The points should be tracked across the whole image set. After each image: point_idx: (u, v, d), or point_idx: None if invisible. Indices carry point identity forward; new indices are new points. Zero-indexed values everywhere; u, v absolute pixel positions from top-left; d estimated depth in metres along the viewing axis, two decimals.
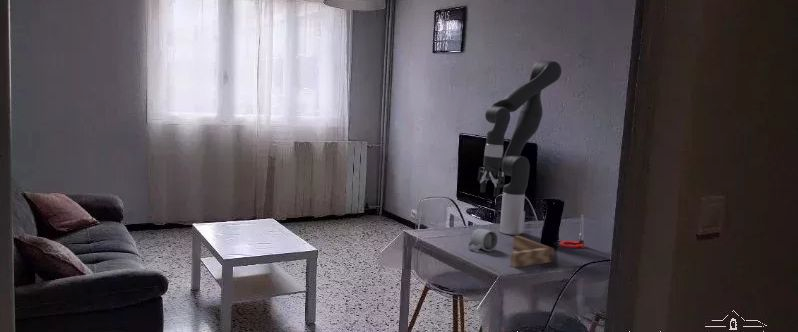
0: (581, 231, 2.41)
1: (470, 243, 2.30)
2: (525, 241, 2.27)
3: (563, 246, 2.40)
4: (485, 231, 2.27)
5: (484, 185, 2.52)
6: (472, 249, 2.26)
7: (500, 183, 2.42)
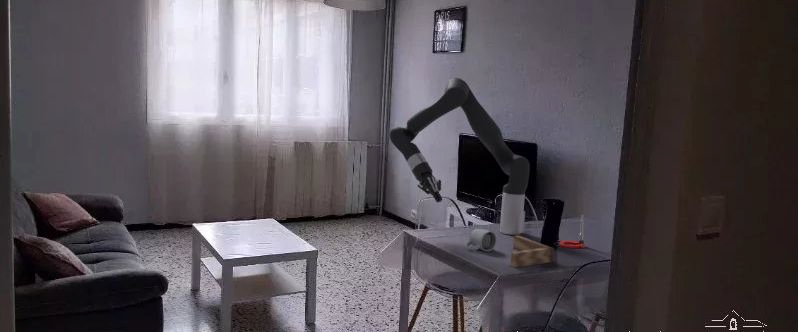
0: (581, 231, 2.41)
1: (469, 243, 2.30)
2: (525, 241, 2.27)
3: (563, 246, 2.40)
4: (484, 231, 2.27)
5: None
6: (470, 249, 2.26)
7: None
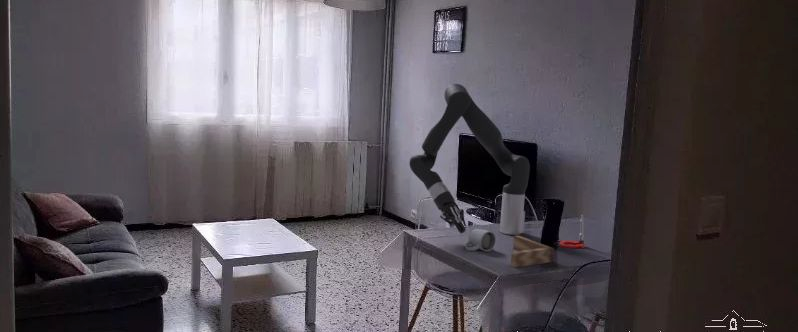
0: (581, 231, 2.41)
1: (468, 243, 2.29)
2: (525, 241, 2.27)
3: (563, 246, 2.40)
4: (483, 231, 2.27)
5: None
6: (470, 249, 2.25)
7: None
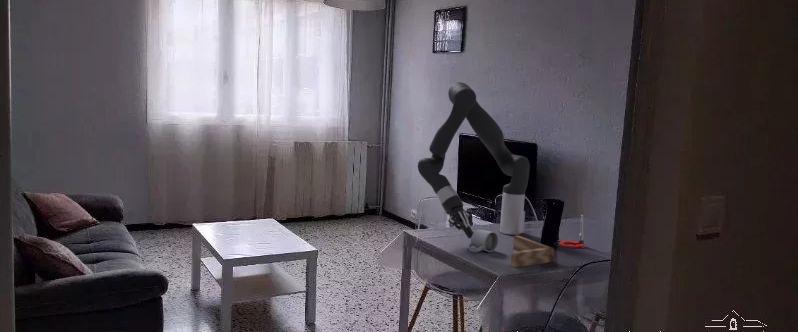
0: (581, 231, 2.41)
1: (471, 244, 2.28)
2: (525, 241, 2.27)
3: (563, 246, 2.40)
4: (486, 232, 2.25)
5: None
6: (474, 251, 2.24)
7: None
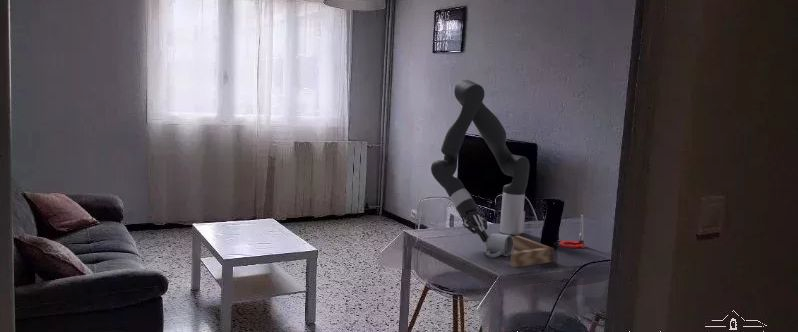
0: (581, 231, 2.41)
1: (487, 249, 2.22)
2: (525, 241, 2.27)
3: (563, 246, 2.40)
4: (503, 236, 2.21)
5: None
6: (493, 256, 2.18)
7: None
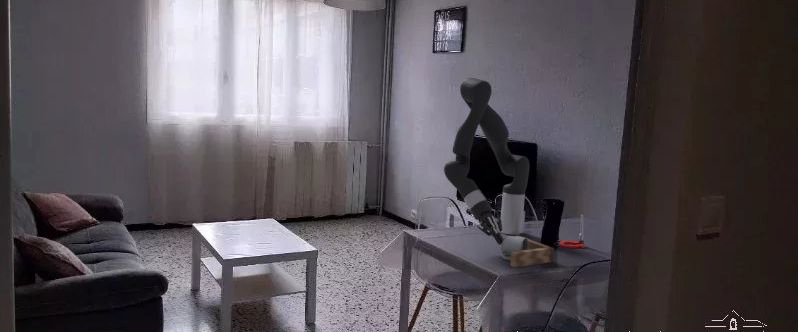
0: (581, 231, 2.41)
1: (503, 252, 2.19)
2: None
3: (563, 246, 2.40)
4: (519, 238, 2.18)
5: None
6: (510, 259, 2.16)
7: None
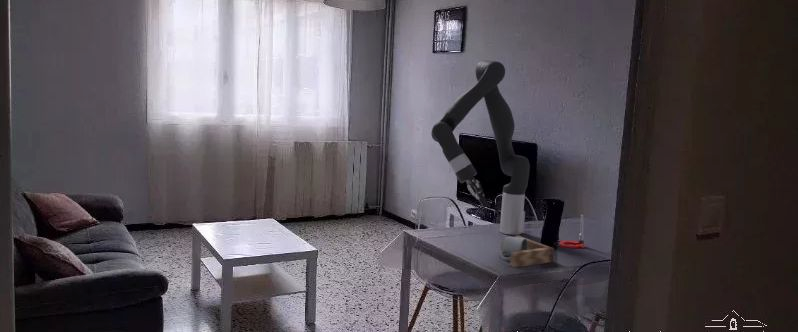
0: (581, 231, 2.41)
1: (502, 253, 2.19)
2: None
3: (563, 246, 2.40)
4: (518, 239, 2.18)
5: None
6: (509, 259, 2.15)
7: None
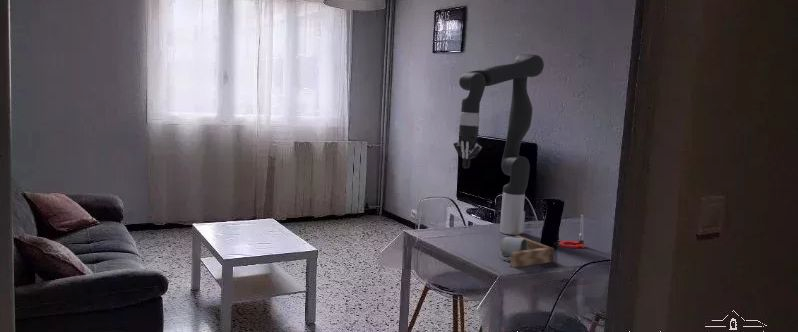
0: (581, 231, 2.41)
1: (501, 253, 2.19)
2: None
3: (563, 246, 2.40)
4: (518, 239, 2.18)
5: None
6: (508, 260, 2.15)
7: (462, 152, 2.40)
